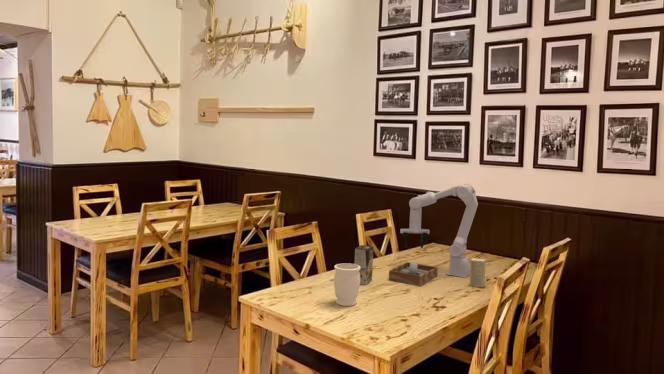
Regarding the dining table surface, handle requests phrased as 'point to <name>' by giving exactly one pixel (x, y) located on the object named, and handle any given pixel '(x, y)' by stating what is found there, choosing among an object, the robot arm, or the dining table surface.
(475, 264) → the skincare box
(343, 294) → the jar
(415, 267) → the peg
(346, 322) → the dining table surface
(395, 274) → the box
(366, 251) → the coffee box
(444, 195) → the robot arm
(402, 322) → the dining table surface
